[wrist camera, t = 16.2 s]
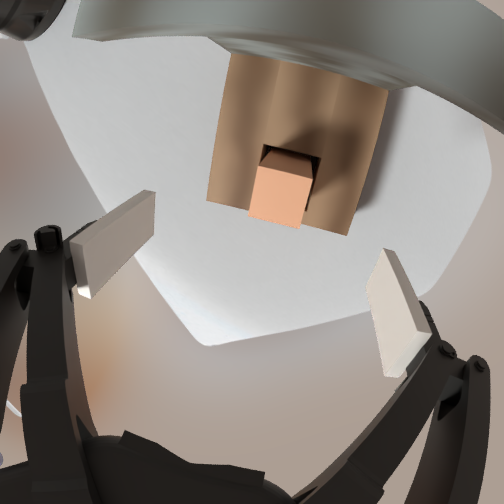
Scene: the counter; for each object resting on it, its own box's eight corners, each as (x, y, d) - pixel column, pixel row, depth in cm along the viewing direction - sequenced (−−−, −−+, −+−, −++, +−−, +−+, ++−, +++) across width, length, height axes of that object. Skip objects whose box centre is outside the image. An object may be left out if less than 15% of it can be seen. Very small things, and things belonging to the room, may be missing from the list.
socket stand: (215, 187, 36) (83, 323, 14) (240, 49, 27) (96, -45, 5) (345, 220, 35) (387, 405, 12) (383, 83, 26) (542, 52, 4)
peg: (266, 181, 35) (247, 216, 24) (273, 147, 32) (258, 165, 22) (301, 190, 34) (299, 228, 24) (310, 155, 32) (312, 179, 22)
